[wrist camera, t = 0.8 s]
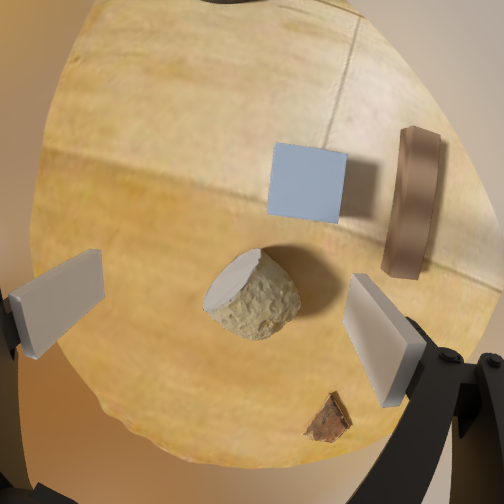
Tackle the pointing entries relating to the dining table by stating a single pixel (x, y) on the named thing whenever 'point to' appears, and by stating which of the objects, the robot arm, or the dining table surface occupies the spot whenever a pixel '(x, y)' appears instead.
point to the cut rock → (252, 296)
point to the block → (306, 183)
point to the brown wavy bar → (412, 203)
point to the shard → (327, 422)
